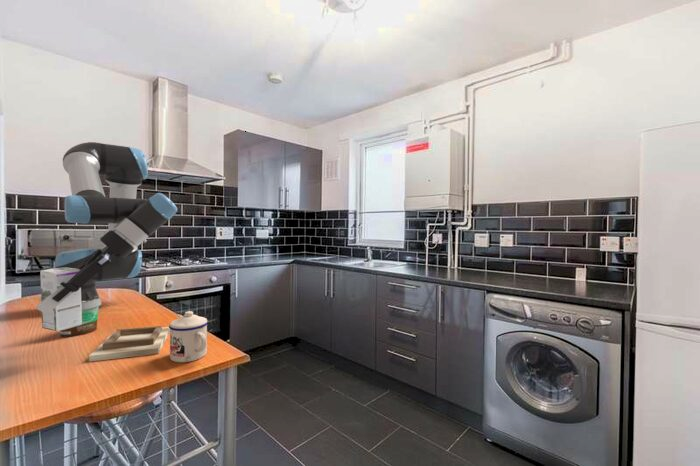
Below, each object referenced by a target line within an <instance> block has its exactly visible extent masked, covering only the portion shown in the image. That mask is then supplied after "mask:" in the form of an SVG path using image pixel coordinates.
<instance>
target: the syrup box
mask: <svg viewBox="0 0 700 466" xmlns="http://www.w3.org/2000/svg"><path fill="white" fill-rule="evenodd" d="M79 271H80V269H75V268H56V267H54V268H48V269H43V270H40V273H39V275H40V296H41V297H40V298H41V301H40V303H41V302H42V301H44V300H45V299H46V298H47V297H48V296H50V295H51V294H52V293H53V292H54V291H56V290H57V289H58V288H59V287H60V286H62V285H60V284H61V283H62V282H64V283H67V282H68V281H69V280H70V279H71V278H72V277H73V276H75V275H76V274H77V273H78V272H79ZM41 321H42V322H41V325H42V326H41V328H42V329H45V330H48V331H49V330H50V331H54V332H60V330H65V329H68V328H72V327H75V326H79V325H82V307H81V288H79V290H78V291H76V292H73V293H72V294H71V295H69V296H68V297H67V298H66V299H65V300H64V301H62V302H61V303H60V304H59V305H58V306H56V307H55V308H54V309H53V310H52V311H51V312H49V313H48V314H45V313H43V312H41Z"/></svg>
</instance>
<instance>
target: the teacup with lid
mask: <svg viewBox="0 0 700 466" xmlns="http://www.w3.org/2000/svg"><path fill="white" fill-rule="evenodd" d="M208 323H209V322H208V318H206V317H204V316H199V315H197V314H194V311H192V310H191V311H190V310H189V311H185V312H184V315H182V316H180V317H178V318H176V319H174V320H172V321H171V322H170V323H169V325H168V327H169V328H170V333H169V358H170V360H171V361H172V362H175V363H188V362H194V361H197V360H200V359H202V358H204V357H205V355H207V352H208V350H207V349H208V341H207V340H208Z"/></svg>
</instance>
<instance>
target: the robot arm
mask: <svg viewBox="0 0 700 466" xmlns="http://www.w3.org/2000/svg"><path fill="white" fill-rule="evenodd" d="M62 166H63V169H64V171H65V172H66V173H67V174H68V178H69V179H68V180H69V184H70V191H71V195H67V196H66V197H64V219H65V221H66V222H67V223H72V224H82V225H85V224H86V225H87V224H108V229H107V232H106V233H105V234H103V235H102V236H101V237H100V239H99V241H100V242H101V243H103V247H102V249H101V248H97V249H96V248H93V247H91V248H78V249H72V250H67V251H62V252H59V253H58V254H56V255H55V263H54V268H75V269H80V271H79V272H78V273H77V274H76V275H75V276H73V277H72V278H71V279H70V280H69V281H68V282H67V283H64V282H62V283H61V284H60V285H62V286H60V287H59V288H58V289H57V290H56V291H54V292H53V293H52V294H51V295H50V296H48V297H47V298H46V299H45V300H44V301H42V302H41V297H40V298H38V301H39V302H40V303H39V304H37V305H35V307H34V308H35V309H36V310H38V311H40V312H41V313H42V312H43V313H45V314H48V313H49V312H51V311H52V310H53V309H54V308H55V307H56V306H58V305H59V304H60V303H61V302H62V301H64V300H65V299H66V298H67V297H68V296H69V295H71V294H72V293H73V292H76V291H78V290H79V288H81V301H86V300H91V299H94V296H98V297H99V299H101V297H100V295H99V293H98V291H97V288H96V287H97V286H96V283H97V282H99V281H110V280H111V281H112V280H120V279H121V280H122V279H123V280H125V279H130V278H135V277H137V276H138V275H139V274H140V271H141V269H142V264H143V253H142V251H141V249H140V250H139V248H138V247H139V246H140V245H141V244H142V243H143V244H145V243H147V242H148V240H147V238H149V237H151V236H152V235H153V234H154V233H155V232H156V231H157V230H158V229H159V228H161V227H162V226H163V225H164V224H165V223H167V222H168V221H170V220H171V219H172V218H173V216H174V215H175V214H177V212H178V207H177V206H176V204H175V203H174V202H173V201H172V200H171V199H170V198H169V197H167V196H166V195H165V194H163V193H161V192H157V193H155V194H153V195H152V196H149V198H137V192H138V191H137V189H138V187H140V186H141V185H142V184H143V180H147V178H148V174H149V170H148V163H147V158H146V155H145V153H144V151H143V150H141V149H138V148H134V147H131V146H124V145H116V144H109V143H100V142H92V141H90V142H89V141H88V142H82V143H79V144H76V145H74V146H72V147H71V148H70V149H68V150H67V151H66V152H65V153H64V154H63V158H62ZM100 176H104V181H105V182H107V184H108V185H109V197H108V196H106V194H105V191H104V187H103V184H102V181H101V177H100ZM101 308H102V304H101V305H100V306H99V309H101Z"/></svg>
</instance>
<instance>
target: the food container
mask: <svg viewBox="0 0 700 466" xmlns="http://www.w3.org/2000/svg"><path fill="white" fill-rule="evenodd" d="M99 297H100V296H99ZM99 297H98V296H94V299H91V300H86V301H81V307H82V325H79V326H75V327H72V328H68V329H65V330H60V331H59V334H60V337H61V338H70V337H71V338H72V337H79V336H83V335H84V336H85V335H87V334H88V335H89V334H90V333H93V332H95V331H96V330H97V327H98V320H99V319H98V317H99V310H100V308H99V306H100V305H101V306H102V300H101V298H100V299H99Z"/></svg>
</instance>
